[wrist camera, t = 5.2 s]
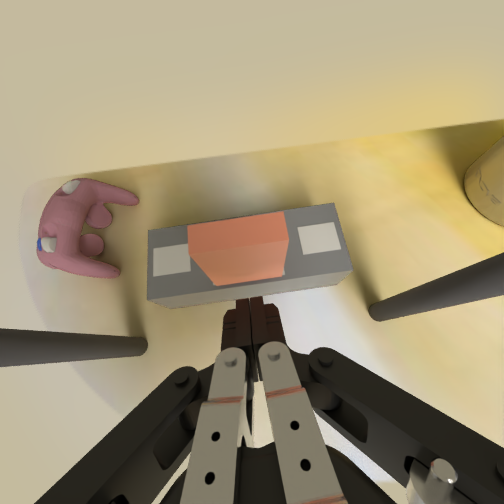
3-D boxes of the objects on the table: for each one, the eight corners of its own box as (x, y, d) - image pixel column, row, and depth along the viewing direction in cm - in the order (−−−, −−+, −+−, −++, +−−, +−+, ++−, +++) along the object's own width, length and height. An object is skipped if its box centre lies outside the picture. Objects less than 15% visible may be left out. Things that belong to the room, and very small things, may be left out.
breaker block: (321, 227, 26) (333, 200, 21) (336, 284, 24) (353, 269, 19) (169, 249, 26) (147, 228, 21) (170, 308, 24) (146, 299, 19)
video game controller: (120, 204, 30) (55, 170, 25) (144, 195, 28) (79, 156, 23) (96, 283, 27) (15, 264, 21) (122, 281, 25) (38, 259, 19)
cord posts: (384, 302, 23) (704, 182, 6) (389, 320, 22) (761, 241, 5) (130, 338, 23) (-236, 320, 6) (129, 357, 23) (-276, 391, 6)
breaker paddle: (278, 256, 19) (283, 211, 13) (282, 276, 19) (289, 239, 12) (214, 266, 19) (187, 225, 13) (216, 286, 19) (188, 254, 12)
